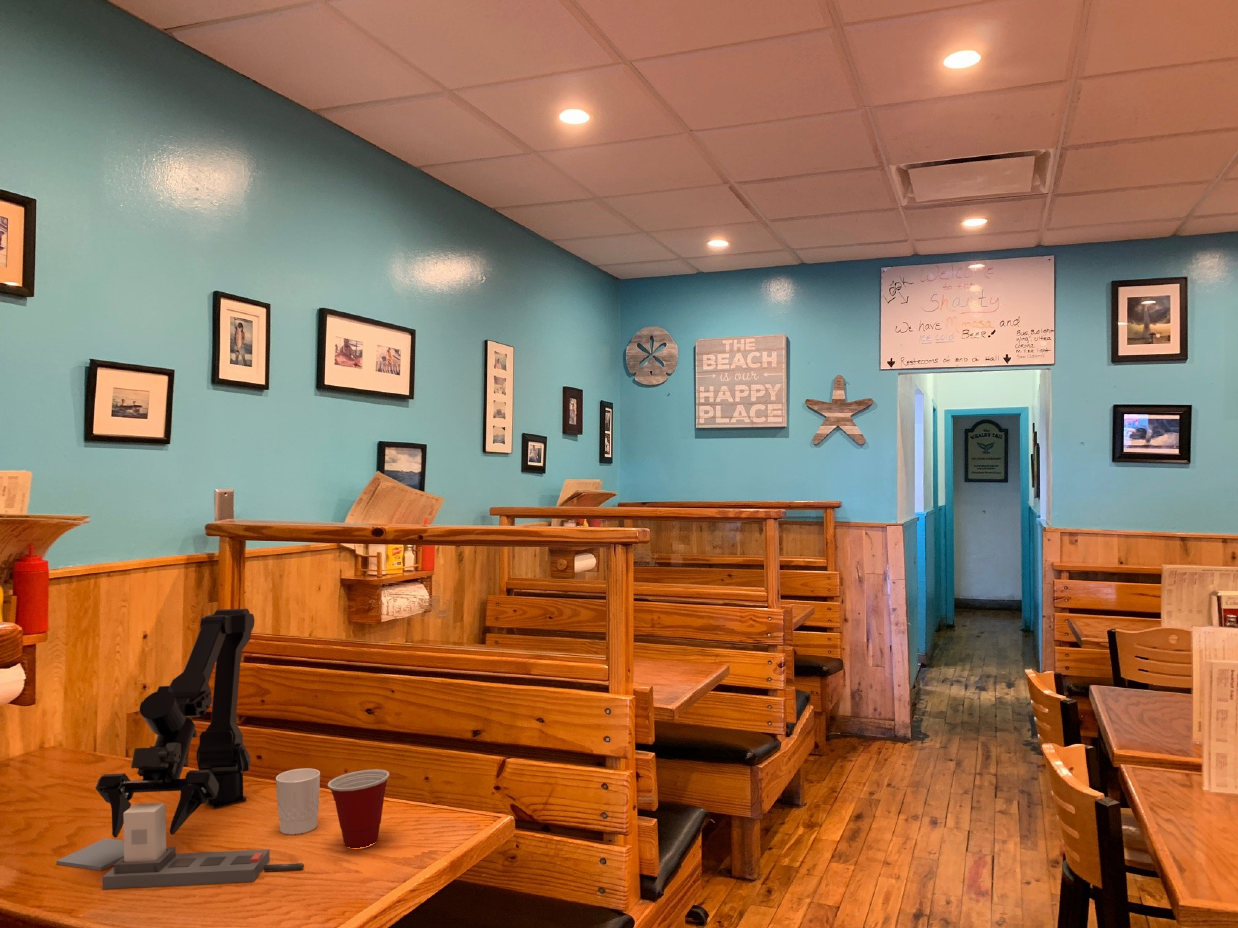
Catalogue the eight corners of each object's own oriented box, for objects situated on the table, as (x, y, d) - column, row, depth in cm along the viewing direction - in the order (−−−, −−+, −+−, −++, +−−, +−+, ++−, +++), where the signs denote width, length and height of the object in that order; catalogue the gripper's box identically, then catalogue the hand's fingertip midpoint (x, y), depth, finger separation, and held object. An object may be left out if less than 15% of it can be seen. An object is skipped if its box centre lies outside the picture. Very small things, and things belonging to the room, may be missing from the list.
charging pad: (105, 841, 165) (105, 837, 165) (148, 846, 162) (148, 843, 162) (56, 863, 155) (56, 860, 155) (101, 870, 152) (101, 866, 152)
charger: (135, 860, 151) (135, 803, 152) (166, 858, 152) (165, 802, 152) (123, 870, 147) (123, 813, 147) (155, 869, 148) (154, 811, 148)
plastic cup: (353, 828, 169) (352, 764, 169) (402, 834, 165) (401, 769, 165) (315, 851, 158) (314, 783, 158) (367, 858, 155) (366, 789, 155)
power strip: (102, 889, 145) (102, 867, 145) (126, 867, 153) (126, 847, 153) (297, 879, 147) (296, 858, 147) (310, 858, 155) (310, 838, 155)
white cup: (329, 822, 172) (328, 770, 172) (302, 838, 164) (301, 783, 164) (295, 818, 174) (294, 766, 174) (267, 833, 167) (266, 779, 167)
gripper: (100, 727, 154) (65, 815, 143) (211, 723, 155) (185, 810, 144) (123, 759, 162) (92, 845, 150) (229, 754, 163) (205, 840, 152)
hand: (142, 834), depth 149 cm, fingers open, 9 cm apart
